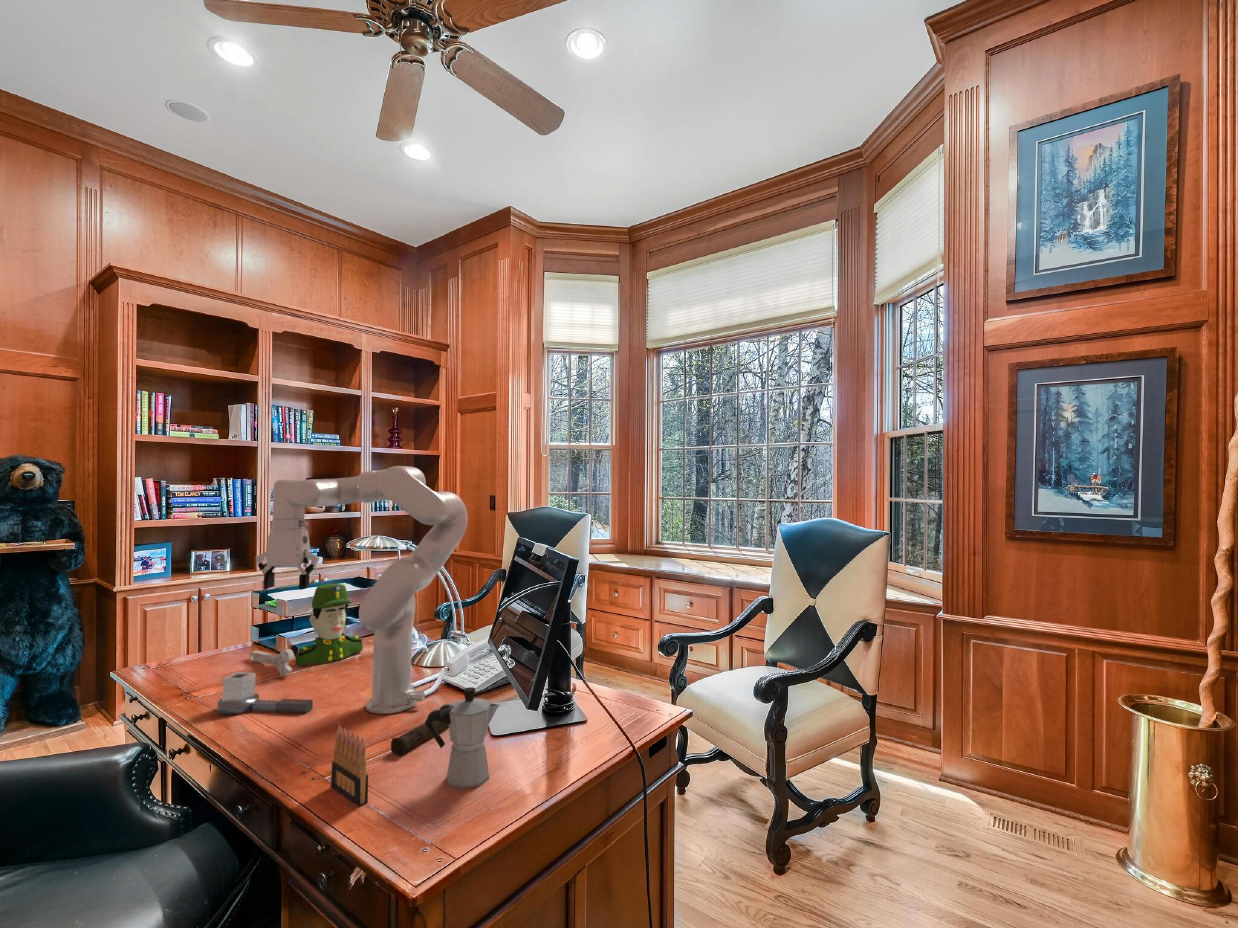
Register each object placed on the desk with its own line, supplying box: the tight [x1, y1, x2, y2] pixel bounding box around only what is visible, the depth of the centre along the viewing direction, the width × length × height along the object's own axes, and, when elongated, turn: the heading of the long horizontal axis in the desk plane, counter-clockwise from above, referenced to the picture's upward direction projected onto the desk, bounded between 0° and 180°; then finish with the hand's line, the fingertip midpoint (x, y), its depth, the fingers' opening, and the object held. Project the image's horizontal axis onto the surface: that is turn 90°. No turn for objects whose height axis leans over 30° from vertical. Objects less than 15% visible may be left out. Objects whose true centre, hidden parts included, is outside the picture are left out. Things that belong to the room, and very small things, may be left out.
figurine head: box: [294, 583, 364, 667], centre depth 189 cm, size 22×12×25 cm, turn 143°
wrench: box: [249, 648, 296, 677], centre depth 179 cm, size 8×2×30 cm
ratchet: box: [216, 692, 314, 717], centre depth 148 cm, size 24×9×6 cm, turn 87°
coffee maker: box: [424, 686, 501, 790], centre depth 115 cm, size 15×9×18 cm, turn 112°
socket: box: [221, 671, 256, 703], centre depth 148 cm, size 5×5×6 cm
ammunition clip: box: [330, 724, 369, 807], centre depth 109 cm, size 11×2×12 cm, turn 52°
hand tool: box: [390, 721, 449, 757], centre depth 133 cm, size 19×4×5 cm, turn 154°
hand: (286, 588), depth 154 cm, fingers open, 9 cm apart
